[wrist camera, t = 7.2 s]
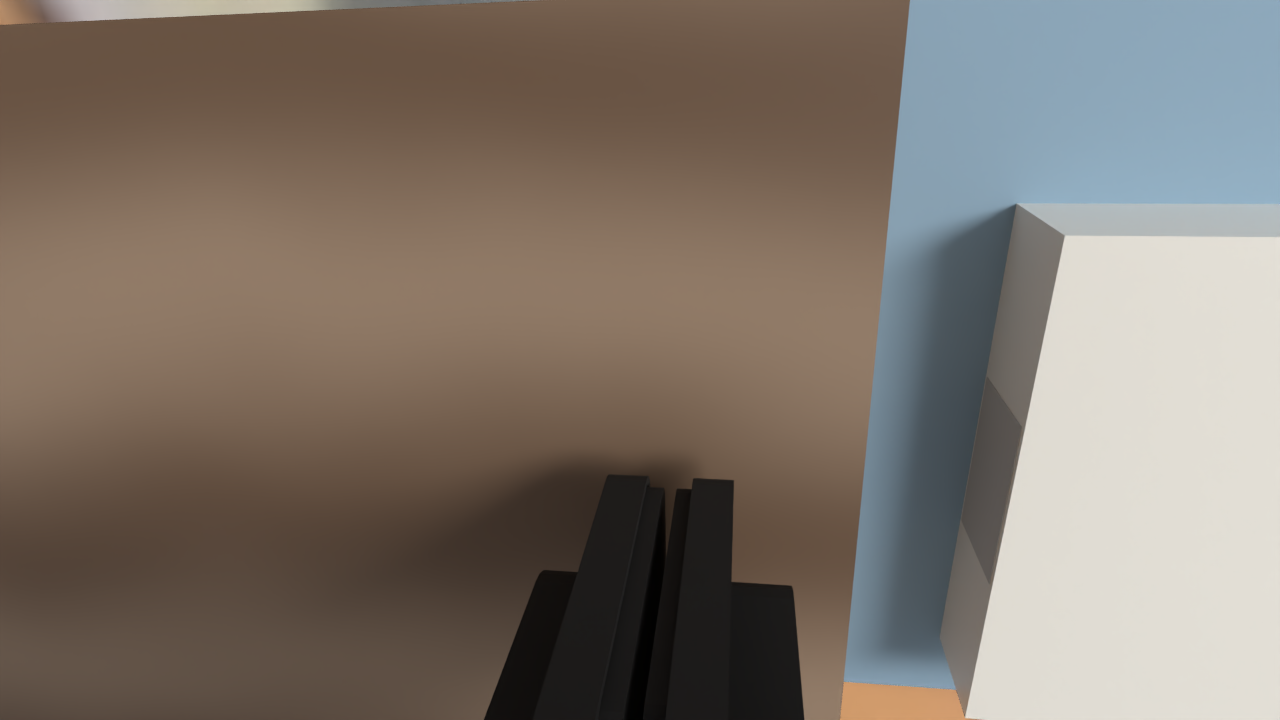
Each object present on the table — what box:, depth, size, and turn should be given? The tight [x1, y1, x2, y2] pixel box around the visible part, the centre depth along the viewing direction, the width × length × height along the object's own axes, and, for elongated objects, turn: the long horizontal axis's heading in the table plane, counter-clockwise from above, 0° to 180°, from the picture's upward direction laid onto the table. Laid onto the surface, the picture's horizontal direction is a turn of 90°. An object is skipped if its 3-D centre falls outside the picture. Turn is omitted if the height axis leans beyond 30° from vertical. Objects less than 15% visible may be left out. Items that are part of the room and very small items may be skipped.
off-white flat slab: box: [940, 203, 1280, 720], centre depth 12 cm, size 9×6×2 cm, turn 2°
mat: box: [844, 0, 1280, 690], centre depth 13 cm, size 14×12×1 cm
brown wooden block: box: [0, 0, 910, 720], centre depth 14 cm, size 14×18×4 cm
